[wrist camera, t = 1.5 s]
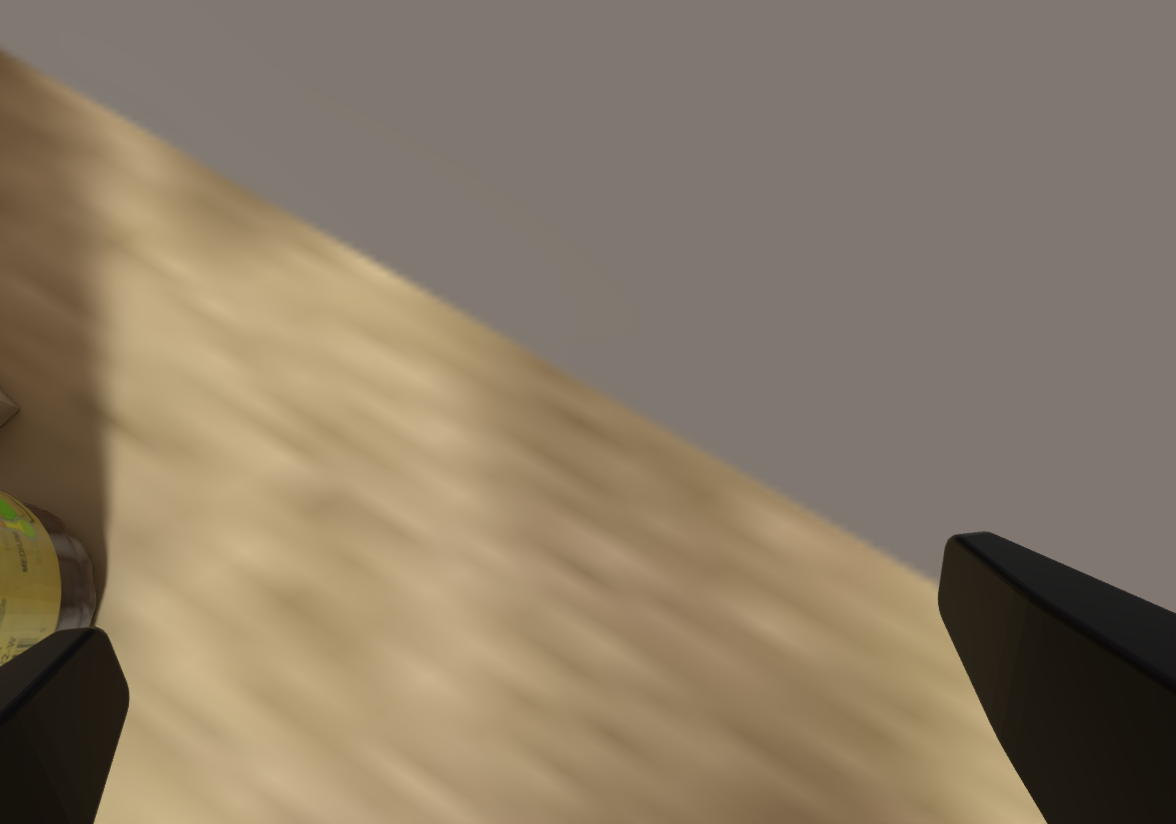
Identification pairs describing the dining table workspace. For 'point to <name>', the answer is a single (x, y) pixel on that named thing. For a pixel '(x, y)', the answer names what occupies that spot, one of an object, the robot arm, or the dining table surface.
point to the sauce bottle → (39, 578)
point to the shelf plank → (6, 408)
